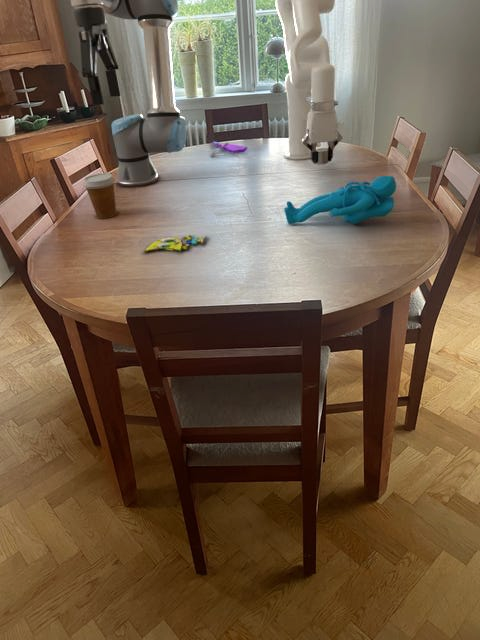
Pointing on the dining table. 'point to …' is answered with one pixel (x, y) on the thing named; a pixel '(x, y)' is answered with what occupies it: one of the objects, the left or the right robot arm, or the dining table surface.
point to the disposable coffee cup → (101, 194)
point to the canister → (322, 155)
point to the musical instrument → (229, 148)
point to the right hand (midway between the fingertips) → (321, 161)
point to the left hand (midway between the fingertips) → (107, 100)
